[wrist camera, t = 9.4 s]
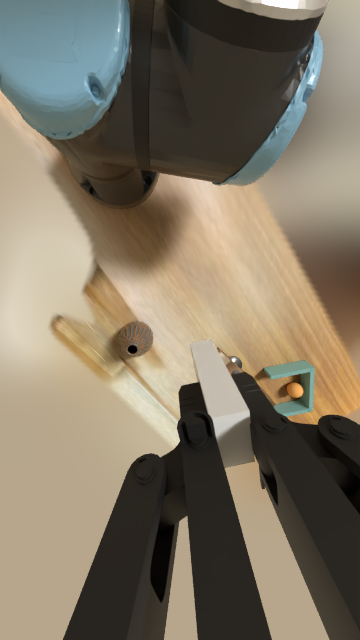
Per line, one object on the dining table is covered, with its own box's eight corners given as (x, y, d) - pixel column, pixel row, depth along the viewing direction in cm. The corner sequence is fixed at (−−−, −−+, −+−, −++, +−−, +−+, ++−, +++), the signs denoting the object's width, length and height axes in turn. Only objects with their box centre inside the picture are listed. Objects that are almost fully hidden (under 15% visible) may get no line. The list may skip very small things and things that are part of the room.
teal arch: (263, 367, 50) (270, 375, 47) (304, 359, 50) (314, 367, 47) (265, 409, 54) (272, 419, 51) (303, 401, 54) (312, 411, 51)
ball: (284, 380, 52) (290, 388, 49) (298, 379, 52) (306, 387, 48) (284, 392, 53) (290, 401, 50) (299, 391, 53) (306, 400, 49)
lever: (209, 352, 47) (213, 361, 43) (217, 345, 46) (221, 353, 43) (260, 399, 52) (268, 411, 48) (268, 394, 52) (276, 405, 48)
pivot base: (220, 358, 48) (220, 359, 48) (240, 354, 49) (241, 355, 48) (222, 375, 50) (223, 376, 50) (242, 372, 50) (242, 373, 50)
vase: (147, 350, 47) (143, 371, 38) (118, 339, 45) (107, 359, 37) (158, 324, 45) (157, 340, 36) (129, 312, 44) (120, 326, 35)
